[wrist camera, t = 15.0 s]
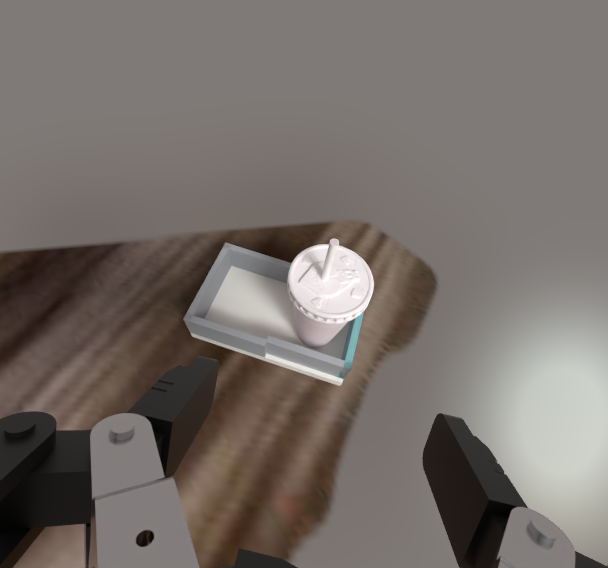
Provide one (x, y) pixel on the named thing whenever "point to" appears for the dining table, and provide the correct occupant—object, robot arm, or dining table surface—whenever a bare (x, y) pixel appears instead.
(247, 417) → the dining table surface
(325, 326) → the smoothie
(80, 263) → the dining table surface
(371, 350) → the dining table surface
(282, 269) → the grey tray
